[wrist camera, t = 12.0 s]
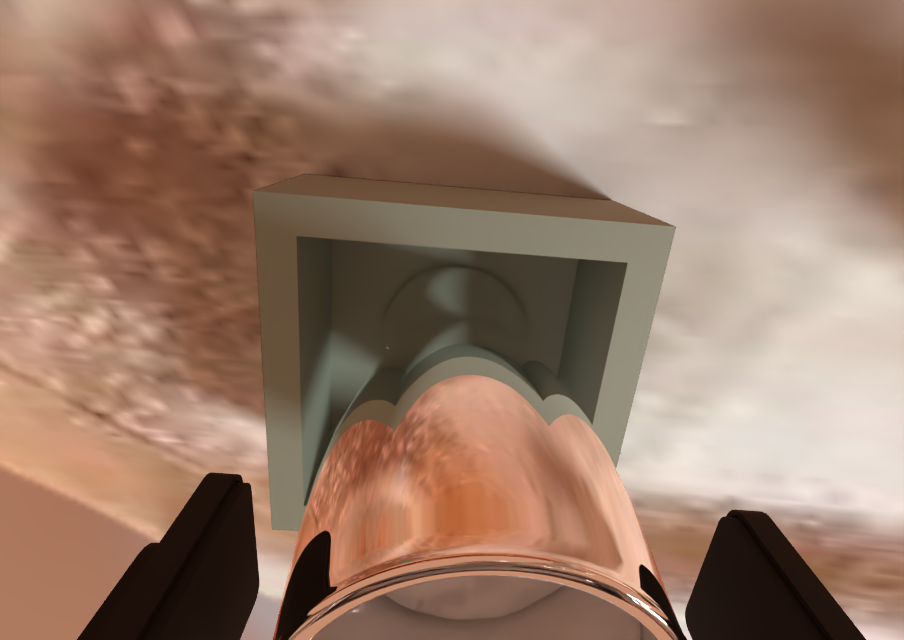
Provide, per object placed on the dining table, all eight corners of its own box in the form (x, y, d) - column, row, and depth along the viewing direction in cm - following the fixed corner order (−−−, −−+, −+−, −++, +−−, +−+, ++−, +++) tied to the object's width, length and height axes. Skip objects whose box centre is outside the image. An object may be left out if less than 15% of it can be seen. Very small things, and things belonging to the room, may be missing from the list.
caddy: (305, 174, 20) (252, 191, 14) (612, 200, 20) (675, 226, 15) (310, 439, 24) (271, 529, 19) (562, 454, 25) (596, 546, 19)
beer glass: (493, 224, 20) (624, 462, 6) (559, 365, 22) (771, 783, 8) (341, 300, 21) (132, 664, 7) (421, 427, 23) (389, 896, 9)
